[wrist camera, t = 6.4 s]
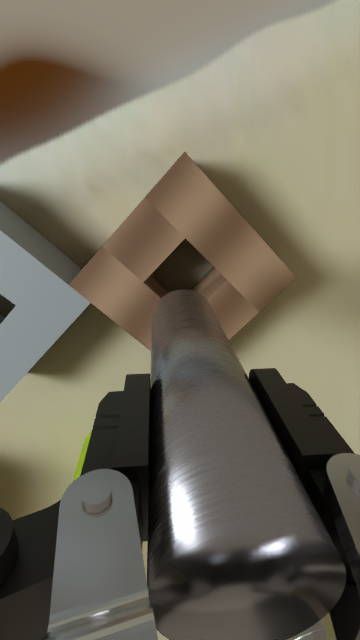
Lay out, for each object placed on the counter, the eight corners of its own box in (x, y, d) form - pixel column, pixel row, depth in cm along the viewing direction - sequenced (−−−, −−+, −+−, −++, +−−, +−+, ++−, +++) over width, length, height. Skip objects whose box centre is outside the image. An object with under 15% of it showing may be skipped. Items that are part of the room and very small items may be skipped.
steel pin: (226, 317, 16) (382, 584, 5) (182, 357, 17) (238, 670, 6) (182, 276, 15) (261, 495, 4) (138, 320, 16) (103, 611, 5)
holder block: (273, 264, 28) (296, 277, 24) (181, 351, 31) (186, 379, 26) (178, 159, 24) (184, 151, 20) (83, 269, 27) (68, 284, 22)
